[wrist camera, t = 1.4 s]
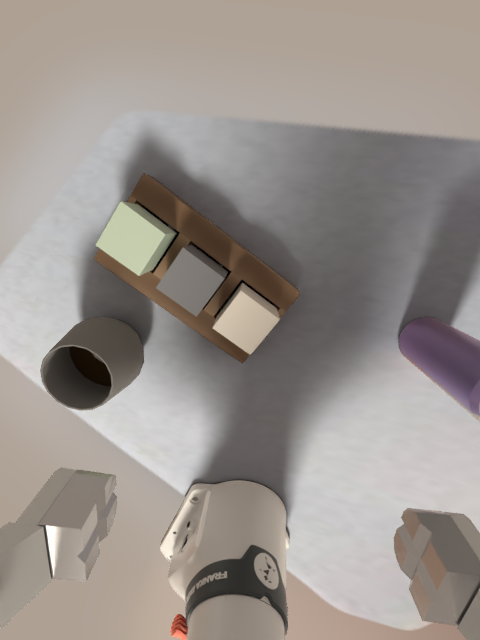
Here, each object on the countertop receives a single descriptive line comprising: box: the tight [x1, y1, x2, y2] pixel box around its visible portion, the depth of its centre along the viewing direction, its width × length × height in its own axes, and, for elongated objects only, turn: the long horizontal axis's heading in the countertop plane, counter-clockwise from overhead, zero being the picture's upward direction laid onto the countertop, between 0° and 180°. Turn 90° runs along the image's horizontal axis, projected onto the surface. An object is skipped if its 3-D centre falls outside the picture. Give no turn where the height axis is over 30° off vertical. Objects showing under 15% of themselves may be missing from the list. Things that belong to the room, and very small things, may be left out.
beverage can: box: [399, 317, 480, 421], centre depth 31 cm, size 6×6×15 cm
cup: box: [40, 317, 144, 410], centre depth 36 cm, size 10×9×10 cm
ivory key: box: [212, 283, 280, 355], centre depth 34 cm, size 5×5×4 cm
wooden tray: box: [94, 173, 300, 363], centre depth 36 cm, size 11×21×3 cm, turn 53°
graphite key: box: [156, 245, 228, 317], centre depth 32 cm, size 5×5×4 cm
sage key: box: [96, 201, 177, 276], centre depth 31 cm, size 5×5×4 cm
